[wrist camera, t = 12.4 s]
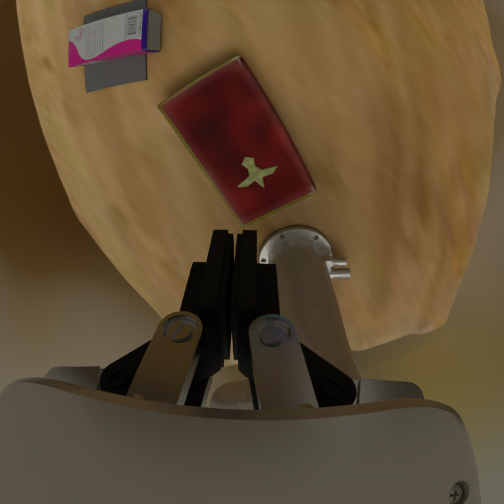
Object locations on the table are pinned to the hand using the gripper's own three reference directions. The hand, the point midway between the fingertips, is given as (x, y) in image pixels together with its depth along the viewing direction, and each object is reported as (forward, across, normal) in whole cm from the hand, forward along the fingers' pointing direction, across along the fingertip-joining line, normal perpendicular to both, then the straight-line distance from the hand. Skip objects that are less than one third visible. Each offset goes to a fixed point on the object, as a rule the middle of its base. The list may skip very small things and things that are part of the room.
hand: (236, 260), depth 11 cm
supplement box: (+26, +11, -14) cm, 31 cm away
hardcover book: (+30, +1, +2) cm, 30 cm away
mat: (+29, +19, -14) cm, 37 cm away
